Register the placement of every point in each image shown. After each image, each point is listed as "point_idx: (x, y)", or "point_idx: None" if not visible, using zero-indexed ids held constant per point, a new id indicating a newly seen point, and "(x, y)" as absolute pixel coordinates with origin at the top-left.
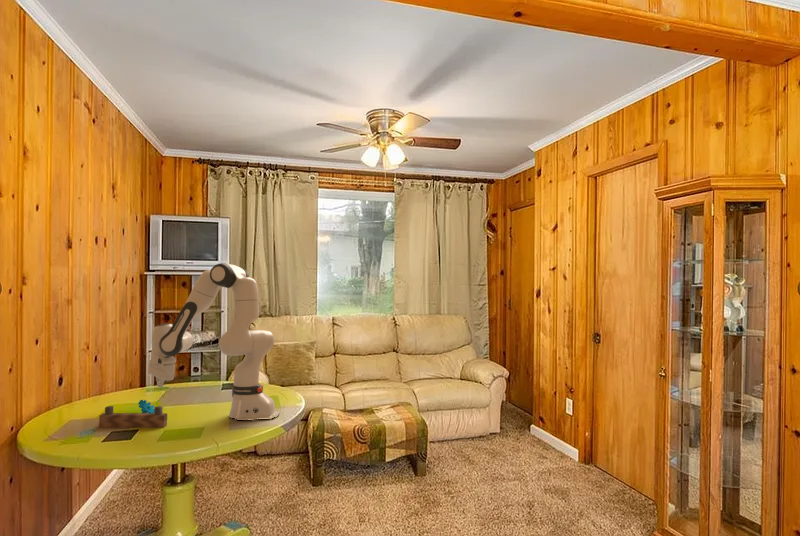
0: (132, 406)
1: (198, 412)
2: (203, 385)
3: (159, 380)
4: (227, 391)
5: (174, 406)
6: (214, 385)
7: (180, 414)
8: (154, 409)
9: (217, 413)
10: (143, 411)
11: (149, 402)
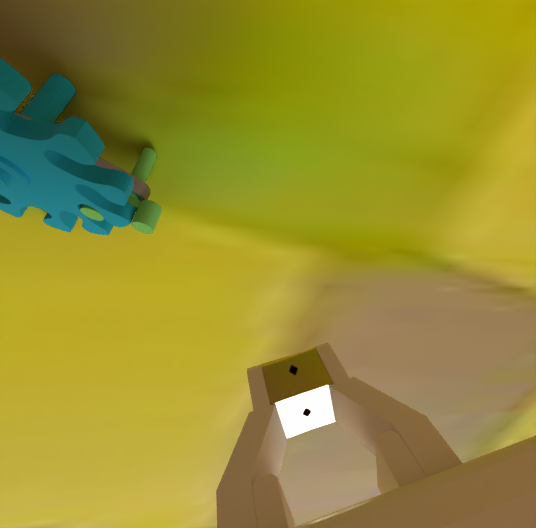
0: (429, 99)
1: (66, 426)
2: (522, 419)
3: (361, 430)
4: None
5: (268, 328)
6: (491, 446)
7: (49, 352)
8: (83, 219)
9: (8, 493)
10: (21, 115)
11: (120, 194)
